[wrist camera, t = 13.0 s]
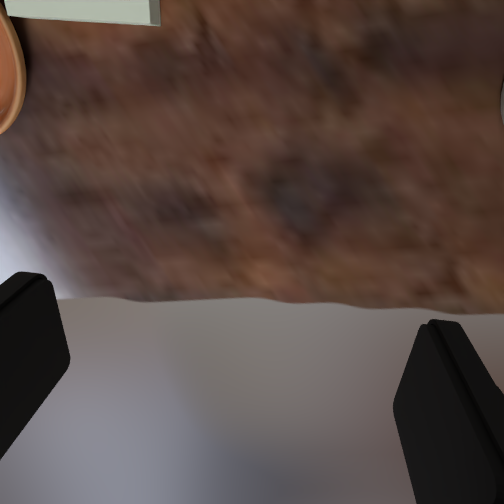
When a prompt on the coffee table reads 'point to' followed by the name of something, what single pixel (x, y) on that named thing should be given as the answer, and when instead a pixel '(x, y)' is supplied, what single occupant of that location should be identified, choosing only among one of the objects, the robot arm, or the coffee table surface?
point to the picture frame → (89, 10)
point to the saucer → (10, 73)
